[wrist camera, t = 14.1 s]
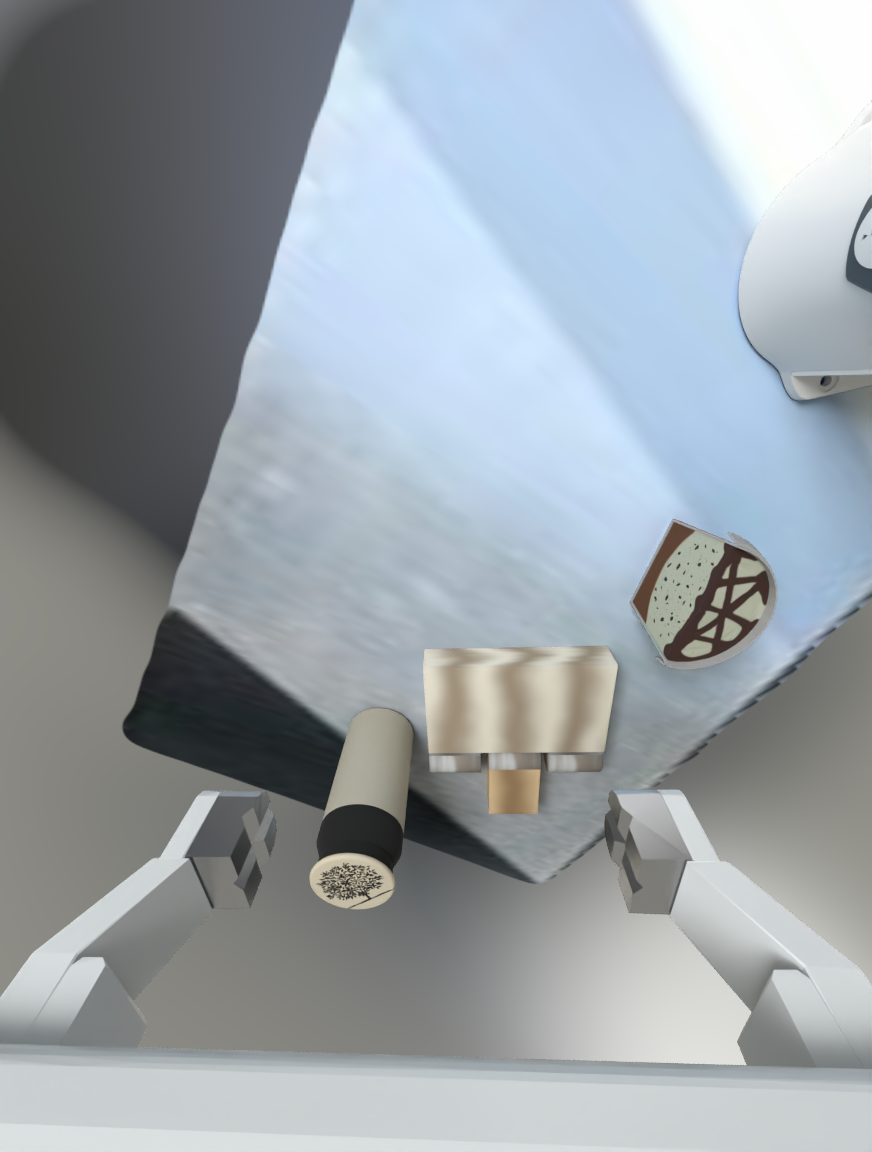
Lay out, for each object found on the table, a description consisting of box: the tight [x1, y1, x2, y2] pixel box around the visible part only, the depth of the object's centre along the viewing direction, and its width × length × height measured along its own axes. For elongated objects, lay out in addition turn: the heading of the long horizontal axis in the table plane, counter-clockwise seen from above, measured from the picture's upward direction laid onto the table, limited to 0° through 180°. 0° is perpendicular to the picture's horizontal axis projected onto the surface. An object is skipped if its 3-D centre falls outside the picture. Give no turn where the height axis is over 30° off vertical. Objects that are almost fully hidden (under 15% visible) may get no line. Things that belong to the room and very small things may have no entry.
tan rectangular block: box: [487, 753, 541, 814], centre depth 55 cm, size 6×10×4 cm, turn 3°
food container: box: [630, 519, 777, 669], centre depth 40 cm, size 12×6×10 cm, turn 165°
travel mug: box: [310, 708, 414, 909], centre depth 46 cm, size 8×8×18 cm
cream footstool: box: [423, 646, 618, 772], centre depth 50 cm, size 20×16×4 cm
